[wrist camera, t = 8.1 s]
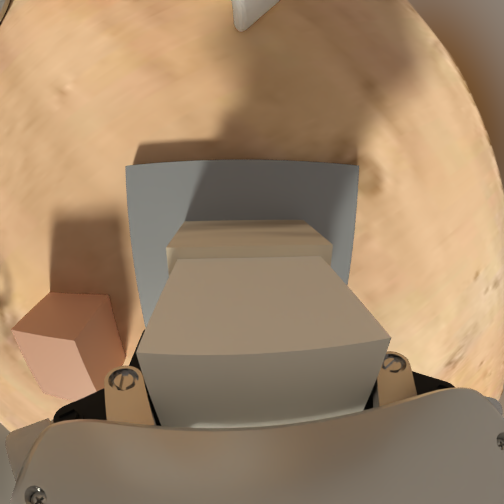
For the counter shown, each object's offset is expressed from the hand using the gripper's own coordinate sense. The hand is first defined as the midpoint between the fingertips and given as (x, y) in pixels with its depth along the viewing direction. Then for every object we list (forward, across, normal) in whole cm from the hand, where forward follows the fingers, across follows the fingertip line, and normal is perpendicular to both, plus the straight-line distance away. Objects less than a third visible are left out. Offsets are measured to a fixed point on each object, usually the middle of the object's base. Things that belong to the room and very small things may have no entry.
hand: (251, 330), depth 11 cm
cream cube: (+1, 0, 0) cm, 1 cm away
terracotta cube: (+7, +13, +5) cm, 16 cm away
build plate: (+7, 0, 0) cm, 7 cm away
